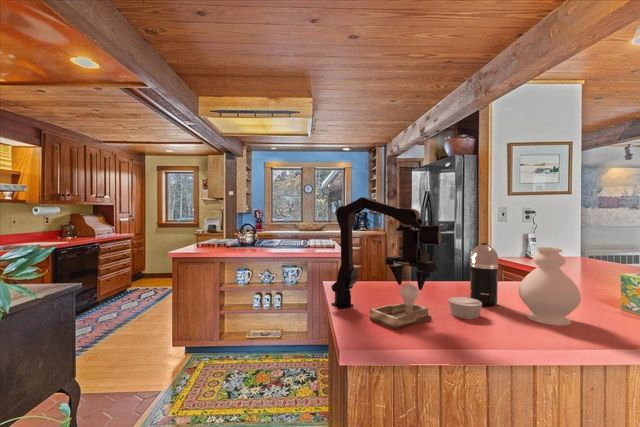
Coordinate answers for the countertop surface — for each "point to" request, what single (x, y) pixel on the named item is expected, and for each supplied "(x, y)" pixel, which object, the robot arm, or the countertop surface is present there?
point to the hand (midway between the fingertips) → (409, 287)
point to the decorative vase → (549, 289)
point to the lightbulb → (409, 296)
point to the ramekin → (465, 307)
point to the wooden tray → (399, 315)
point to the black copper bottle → (484, 275)
